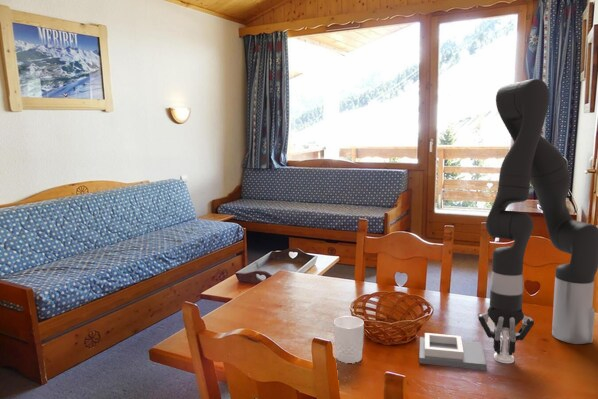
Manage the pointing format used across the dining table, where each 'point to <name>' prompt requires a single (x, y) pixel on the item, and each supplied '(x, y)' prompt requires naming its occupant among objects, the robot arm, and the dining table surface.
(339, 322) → the white cup
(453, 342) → the socket board
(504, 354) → the chess piece
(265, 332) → the dining table surface
